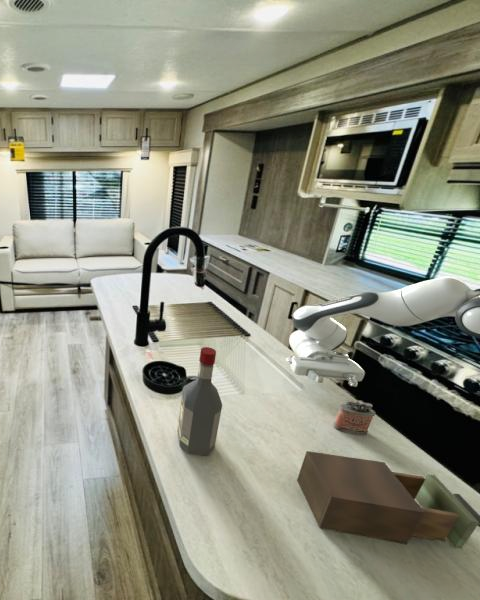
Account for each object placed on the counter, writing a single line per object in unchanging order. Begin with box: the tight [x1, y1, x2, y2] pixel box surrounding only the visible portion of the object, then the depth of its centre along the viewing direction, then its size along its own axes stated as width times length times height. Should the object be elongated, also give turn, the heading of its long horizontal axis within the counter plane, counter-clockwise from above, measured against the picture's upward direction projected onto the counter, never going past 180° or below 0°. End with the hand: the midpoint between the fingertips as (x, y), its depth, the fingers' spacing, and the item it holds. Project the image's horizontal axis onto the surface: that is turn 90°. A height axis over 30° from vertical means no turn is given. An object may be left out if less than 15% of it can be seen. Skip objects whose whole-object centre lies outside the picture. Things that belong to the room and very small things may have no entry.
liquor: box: [177, 346, 223, 457], centre depth 83 cm, size 9×9×30 cm
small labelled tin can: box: [333, 399, 376, 436], centre depth 89 cm, size 8×3×10 cm, turn 74°
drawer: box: [392, 471, 480, 550], centre depth 66 cm, size 18×10×8 cm, turn 77°
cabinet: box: [296, 450, 425, 545], centre depth 68 cm, size 16×12×10 cm
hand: (337, 382), depth 98 cm, fingers open, 8 cm apart
